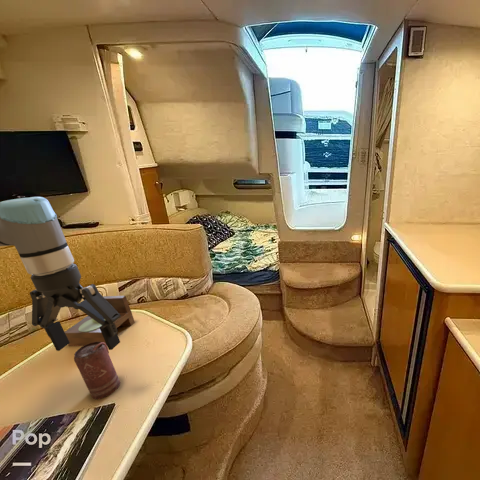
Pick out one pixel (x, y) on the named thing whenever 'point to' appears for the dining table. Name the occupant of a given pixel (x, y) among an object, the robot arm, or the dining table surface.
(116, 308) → the green-ringed wooden stand
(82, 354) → the can
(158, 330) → the dining table surface
